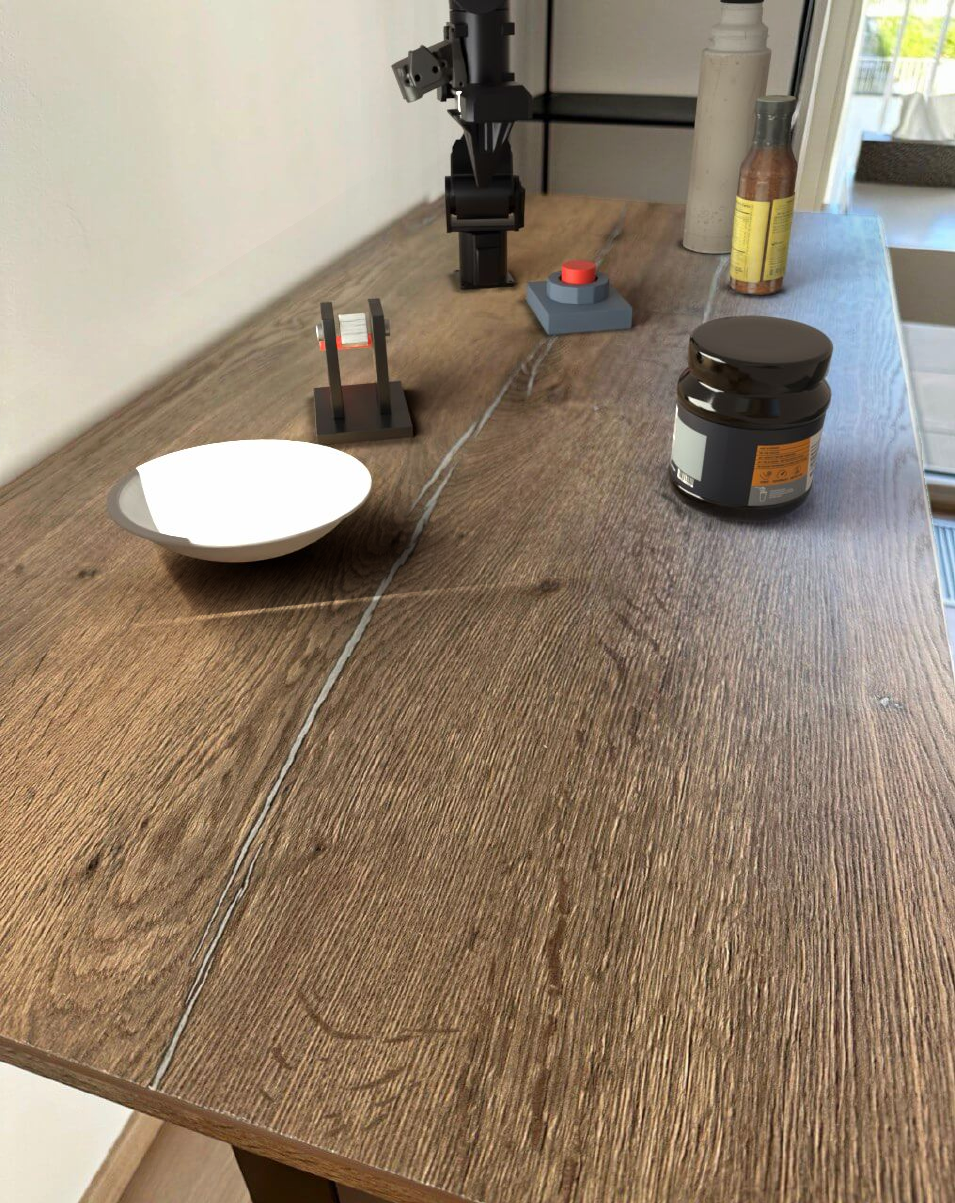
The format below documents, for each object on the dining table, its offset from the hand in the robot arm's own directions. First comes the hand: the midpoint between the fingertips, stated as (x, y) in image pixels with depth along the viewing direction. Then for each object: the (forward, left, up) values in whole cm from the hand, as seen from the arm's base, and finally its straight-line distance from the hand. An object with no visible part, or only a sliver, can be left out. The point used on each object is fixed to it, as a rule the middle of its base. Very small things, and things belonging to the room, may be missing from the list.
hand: (482, 187), depth 98 cm
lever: (+21, -15, -8) cm, 27 cm away
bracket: (+25, -15, -13) cm, 32 cm away
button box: (+3, +10, -13) cm, 16 cm away
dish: (+45, -24, -13) cm, 53 cm away
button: (+3, +10, -9) cm, 14 cm away
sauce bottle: (-1, +32, -13) cm, 34 cm away
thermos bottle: (-19, +34, -13) cm, 41 cm away
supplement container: (+44, +12, -13) cm, 47 cm away
